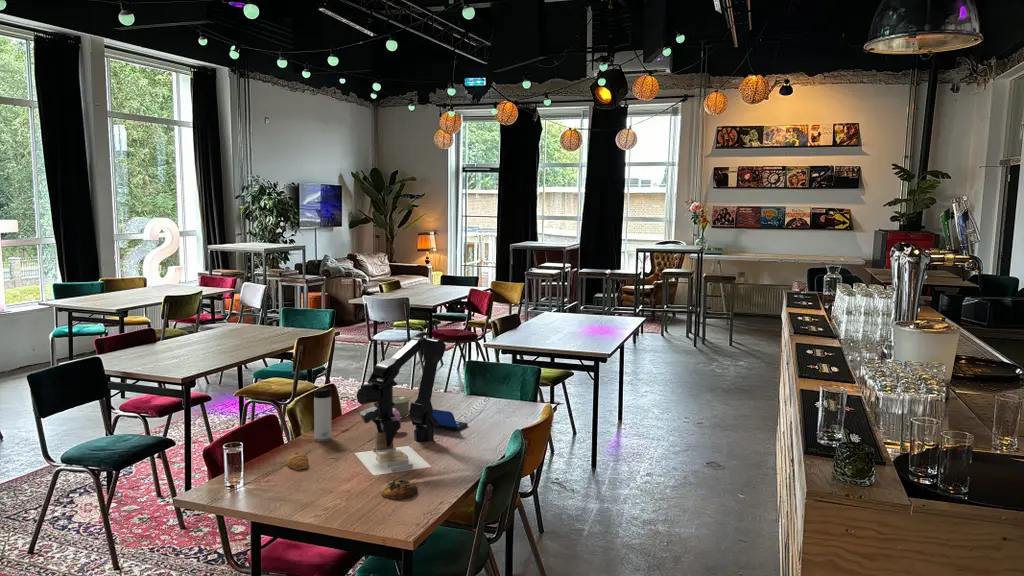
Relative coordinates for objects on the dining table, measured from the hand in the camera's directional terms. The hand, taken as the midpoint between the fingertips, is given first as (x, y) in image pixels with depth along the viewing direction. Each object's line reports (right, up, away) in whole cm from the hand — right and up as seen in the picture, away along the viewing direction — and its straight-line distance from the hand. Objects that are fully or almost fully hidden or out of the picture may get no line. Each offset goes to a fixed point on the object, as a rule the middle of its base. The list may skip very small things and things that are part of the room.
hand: (384, 442), depth 250 cm
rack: (+4, -5, -8) cm, 10 cm away
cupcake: (-3, -2, +26) cm, 26 cm away
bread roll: (+11, -8, -34) cm, 37 cm away
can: (-5, 0, +52) cm, 52 cm away
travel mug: (-26, -3, +16) cm, 31 cm away
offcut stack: (+4, -4, -8) cm, 10 cm away
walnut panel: (0, -3, 0) cm, 3 cm away
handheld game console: (+18, -2, +35) cm, 39 cm away
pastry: (-27, -6, -12) cm, 30 cm away
